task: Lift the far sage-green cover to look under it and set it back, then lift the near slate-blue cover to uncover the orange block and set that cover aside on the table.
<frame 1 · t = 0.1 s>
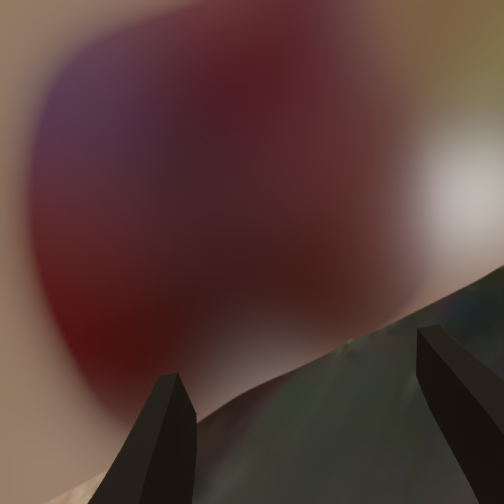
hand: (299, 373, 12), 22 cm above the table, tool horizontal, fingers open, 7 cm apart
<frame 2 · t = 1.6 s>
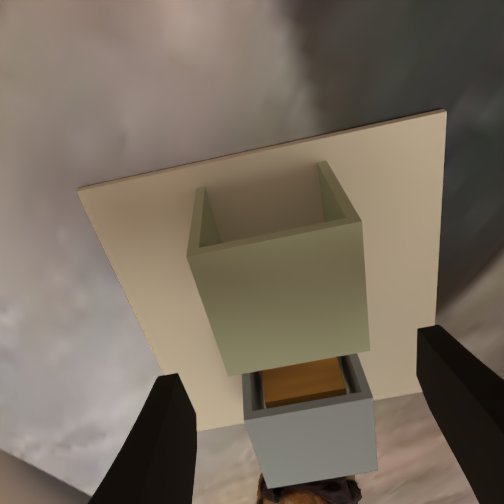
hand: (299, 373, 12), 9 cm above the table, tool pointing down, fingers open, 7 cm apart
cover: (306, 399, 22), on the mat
mat: (287, 305, 23), on the table
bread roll: (303, 491, 35), on the table
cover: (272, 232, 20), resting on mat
orange block: (304, 388, 23), on the mat
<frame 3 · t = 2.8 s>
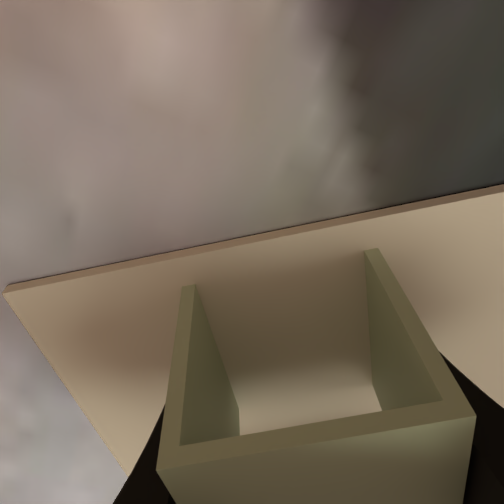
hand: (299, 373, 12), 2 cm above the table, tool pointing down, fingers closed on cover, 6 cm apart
mat: (309, 419, 17), on the table
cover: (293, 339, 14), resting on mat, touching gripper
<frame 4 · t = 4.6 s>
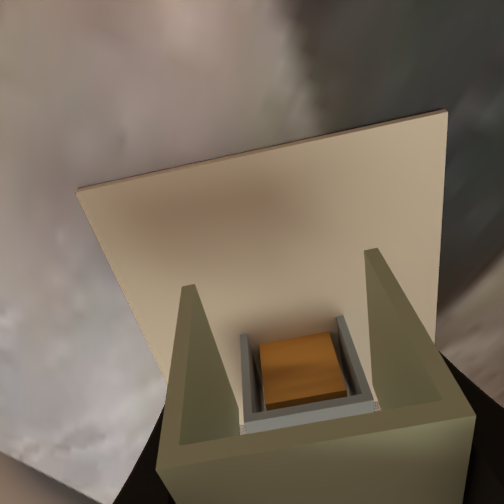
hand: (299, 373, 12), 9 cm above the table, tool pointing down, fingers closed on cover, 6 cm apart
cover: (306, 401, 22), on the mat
mat: (287, 306, 22), on the table
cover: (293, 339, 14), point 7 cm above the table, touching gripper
orange block: (304, 389, 23), on the mat
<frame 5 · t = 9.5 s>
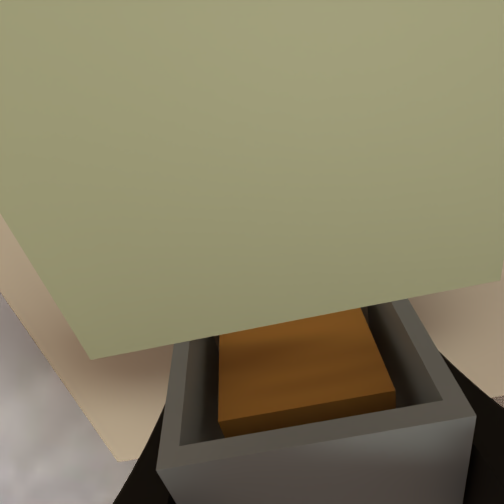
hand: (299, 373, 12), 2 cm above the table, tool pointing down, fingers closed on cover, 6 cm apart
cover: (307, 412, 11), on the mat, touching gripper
mat: (271, 231, 12), on the table
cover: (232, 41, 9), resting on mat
orange block: (303, 389, 12), on the mat
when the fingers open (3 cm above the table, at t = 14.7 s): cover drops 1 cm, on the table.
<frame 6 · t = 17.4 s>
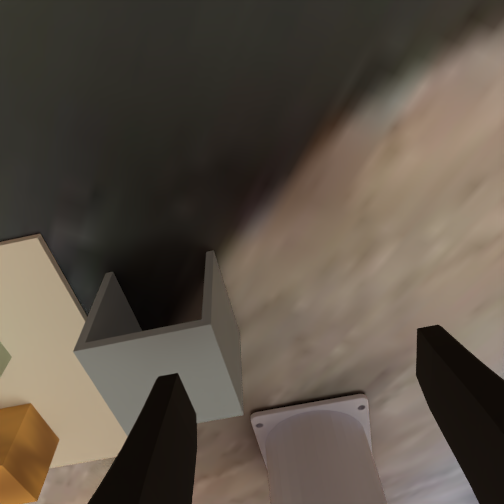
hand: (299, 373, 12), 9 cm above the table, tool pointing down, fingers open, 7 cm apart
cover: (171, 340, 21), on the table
orange block: (3, 456, 25), on the mat
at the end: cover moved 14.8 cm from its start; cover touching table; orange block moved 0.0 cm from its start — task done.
